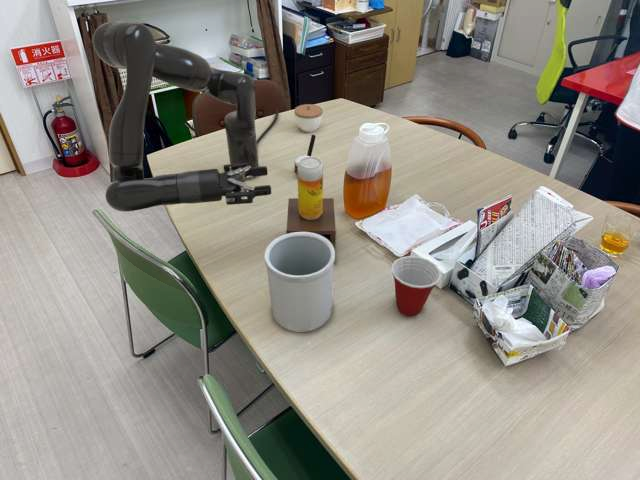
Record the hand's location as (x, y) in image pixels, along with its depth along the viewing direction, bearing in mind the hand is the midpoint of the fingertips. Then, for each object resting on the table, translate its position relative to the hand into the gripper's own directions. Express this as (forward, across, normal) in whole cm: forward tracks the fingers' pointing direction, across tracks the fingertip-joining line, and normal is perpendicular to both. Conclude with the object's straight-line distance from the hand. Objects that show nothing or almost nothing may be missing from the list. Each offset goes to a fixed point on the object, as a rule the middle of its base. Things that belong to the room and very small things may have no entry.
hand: (269, 179), depth 109 cm
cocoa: (+15, +38, +22) cm, 46 cm away
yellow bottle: (+10, 0, +11) cm, 15 cm away
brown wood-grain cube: (+10, 0, +22) cm, 24 cm away
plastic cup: (+29, -26, +22) cm, 45 cm away
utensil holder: (+4, -22, +22) cm, 32 cm away
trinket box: (+22, +70, +22) cm, 76 cm away
